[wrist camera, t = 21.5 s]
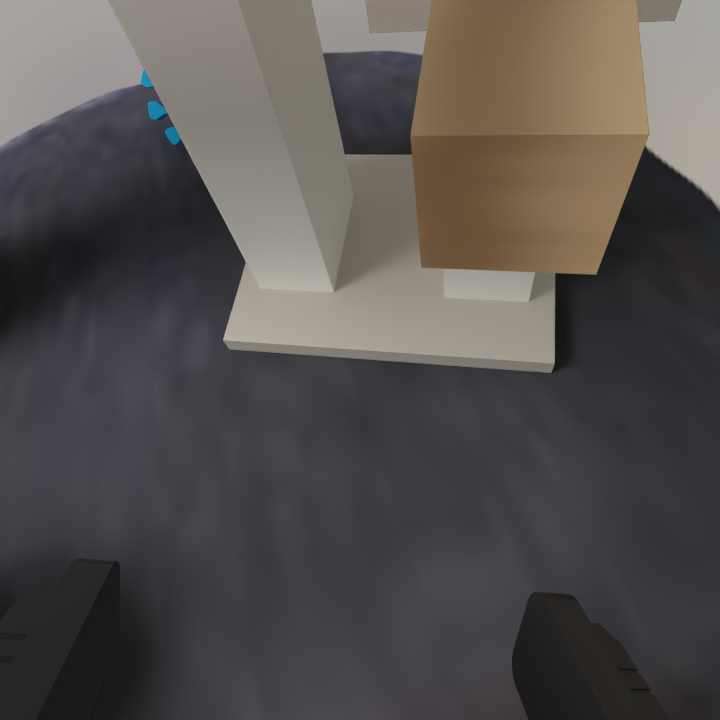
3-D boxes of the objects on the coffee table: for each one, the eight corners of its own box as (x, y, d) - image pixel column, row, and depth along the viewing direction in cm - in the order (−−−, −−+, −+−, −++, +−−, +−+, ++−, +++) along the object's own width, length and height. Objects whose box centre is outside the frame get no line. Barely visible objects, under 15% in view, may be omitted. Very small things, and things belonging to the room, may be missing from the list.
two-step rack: (229, 349, 37) (-480, -620, 9) (281, 166, 44) (-23, -703, 16) (551, 372, 33) (1114, -1236, 5) (553, 167, 40) (790, -987, 12)
